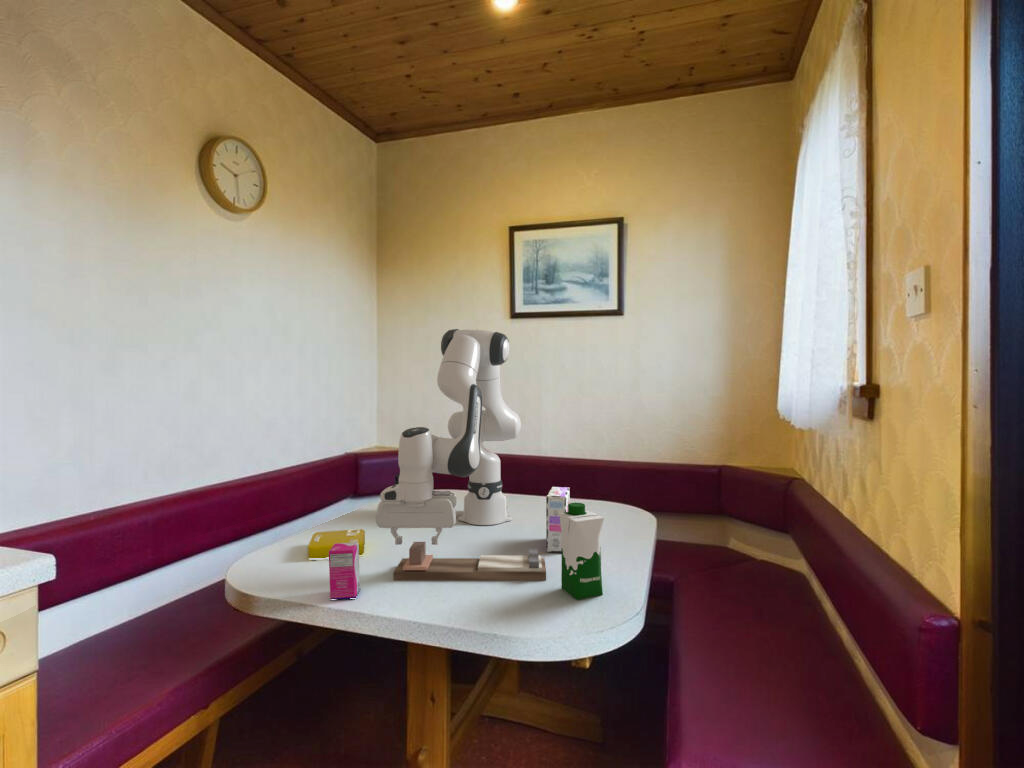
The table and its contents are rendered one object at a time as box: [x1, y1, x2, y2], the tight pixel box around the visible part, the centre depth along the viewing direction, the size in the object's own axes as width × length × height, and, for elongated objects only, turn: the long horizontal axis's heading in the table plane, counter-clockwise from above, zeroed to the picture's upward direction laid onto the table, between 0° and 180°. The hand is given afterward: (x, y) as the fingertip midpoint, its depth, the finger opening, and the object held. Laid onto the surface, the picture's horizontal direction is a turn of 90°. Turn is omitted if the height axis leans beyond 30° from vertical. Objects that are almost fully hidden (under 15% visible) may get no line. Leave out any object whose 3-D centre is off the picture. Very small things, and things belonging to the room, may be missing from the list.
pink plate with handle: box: [403, 541, 434, 570], centre depth 134 cm, size 9×6×5 cm, turn 179°
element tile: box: [307, 528, 366, 558], centre depth 153 cm, size 15×15×5 cm
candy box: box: [545, 486, 571, 554], centre depth 156 cm, size 14×6×16 cm, turn 168°
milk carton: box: [559, 502, 605, 601], centre depth 122 cm, size 9×9×20 cm
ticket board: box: [392, 548, 547, 581], centre depth 134 cm, size 10×38×5 cm, turn 89°
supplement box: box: [328, 542, 361, 599], centre depth 121 cm, size 6×6×12 cm
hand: (416, 544), depth 135 cm, fingers open, 8 cm apart
